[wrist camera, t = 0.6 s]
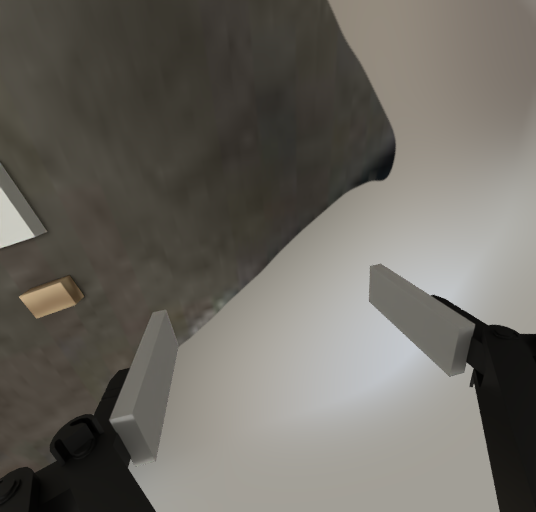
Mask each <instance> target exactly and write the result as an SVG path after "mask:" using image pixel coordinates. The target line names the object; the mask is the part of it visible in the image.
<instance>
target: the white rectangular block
mask: <svg viewBox="0 0 536 512" xmlns="http://www.w3.org/2000/svg"><path fill="white" fill-rule="evenodd" d="M46 232H47V230H46V229H45V227H44V226H43V225H42V223H41V222H40V220H39V219H38V217H37V216H36V214H35V213H34V211H33V210H32V208H31V207H30V205H29V204H28V202H27V201H26V200H25V198H24V197H23V195H22V194H21V192H20V191H19V189H18V188H17V186H16V185H15V183H14V182H13V180H12V179H11V177H10V176H9V175H8V173H7V172H6V170H5V169H4V167H3V166H2V164H1V163H0V248H3V247H6V246H9V245H12V244H15V243H18V242H21V241H24V240H27V239H30V238H33V237H36V236H39V235H41V234H43V233H46Z"/></svg>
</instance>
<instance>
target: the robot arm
mask: <svg viewBox="0 0 536 512" xmlns="http://www.w3.org/2000/svg"><path fill="white" fill-rule="evenodd" d="M369 302H370V303H371V304H372V305H374V306H375V307H376V308H377V309H378V310H379V311H380V312H381V313H382V314H383V315H384V316H385V317H386V318H387V319H389V320H390V321H391V322H392V323H393V324H394V325H395V326H396V327H397V328H398V329H399V330H400V331H401V332H403V334H405V335H406V336H407V337H408V338H409V339H410V340H411V341H412V342H413V343H414V344H415V345H416V346H417V347H418V348H419V349H421V350H422V351H423V352H424V353H425V354H426V355H427V356H428V357H429V358H430V359H431V360H432V361H433V362H435V363H436V364H437V365H438V366H439V367H440V368H441V369H442V370H443V371H444V372H445V373H446V374H447V375H448V376H449V377H450V376H454V375H457V374H461V373H464V371H465V367H466V362H467V363H468V364H469V365H471V366H472V367H473V368H474V369H473V373H472V377H471V382H470V387H473V384H475V389H476V394H477V399H478V404H479V409H480V414H481V419H482V424H483V429H484V434H485V439H486V444H487V450H488V455H489V460H490V465H491V470H492V475H493V479H494V485H495V490H496V495H497V500H498V505H499V510H500V512H536V334H519V333H518V332H516V331H515V330H513V329H510V328H508V327H505V326H500V325H487V324H485V323H483V322H482V321H480V320H479V319H477V318H475V317H474V316H472V315H470V314H469V313H467V312H466V311H464V310H461V308H459V307H457V306H456V305H454V304H452V303H451V302H449V301H448V300H446V299H444V298H441V297H439V296H435V295H431V296H430V295H429V294H427V293H425V292H424V291H422V290H421V289H419V288H418V287H416V286H415V285H413V284H412V283H410V282H408V281H407V280H405V279H404V278H402V277H401V276H399V275H397V274H396V273H394V272H393V271H391V270H390V269H388V268H387V267H385V266H383V265H382V264H378V265H373V266H370V288H369ZM177 351H178V343H177V340H176V337H175V334H174V331H173V328H172V325H171V323H170V320H169V317H168V314H167V311H166V310H162V311H158V312H153V313H152V316H151V318H150V321H149V323H148V325H147V328H146V330H145V333H144V335H143V338H142V340H141V343H140V345H139V348H138V350H137V353H136V355H135V358H134V360H133V362H132V365H131V367H130V368H127V369H123V370H119V371H118V372H117V373H116V374H115V376H114V377H113V378H112V379H111V380H110V382H109V384H108V386H107V388H106V390H105V393H104V395H103V397H102V399H101V401H100V403H99V405H98V407H97V409H96V411H95V414H94V416H93V415H92V414H85V415H82V416H79V417H76V418H75V419H73V420H71V421H69V422H68V423H67V424H66V425H64V426H63V427H62V428H61V429H60V430H59V431H58V432H57V434H56V435H55V436H54V437H53V439H52V442H51V444H50V452H51V453H52V455H53V456H54V457H55V459H56V460H57V461H56V462H54V463H52V464H50V465H48V466H47V467H45V468H43V469H41V470H39V471H37V472H36V473H34V471H33V470H32V469H30V468H28V467H23V468H18V469H16V470H14V471H12V472H10V473H8V474H7V475H5V476H4V477H3V478H1V479H0V512H156V511H155V509H154V508H153V507H152V505H151V503H150V502H149V500H148V499H147V497H146V496H145V494H144V492H143V491H142V489H141V488H140V486H139V485H138V483H137V482H136V480H135V479H134V477H133V476H132V474H131V472H130V471H129V469H128V465H129V462H130V459H131V460H132V462H133V463H134V465H135V467H137V466H141V465H144V464H147V463H151V462H154V461H156V457H157V452H158V447H159V442H160V437H161V432H162V427H163V422H164V417H165V412H166V407H167V402H168V396H169V391H170V386H171V381H172V376H173V371H174V366H175V360H176V356H177Z"/></svg>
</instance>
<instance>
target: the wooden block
mask: <svg viewBox="0 0 536 512" xmlns="http://www.w3.org/2000/svg"><path fill="white" fill-rule="evenodd" d="M83 297H84V295H83V294H82V292H81V291H80V289H79V288H78V287H77V285H76V284H75V282H74V281H73V279H72V278H71V277H70V275H69V276H66V277H63V278H60V279H57V280H54V281H51V282H49V283H46V284H43V285H40V286H37V287H34V288H31V289H30V290H28V291H27V292H25V293H24V294H22V295H21V296H19V298H20V299H21V300H22V301H23V302H24V304H25V305H26V306H27V307H28V308H29V310H30V311H31V312H32V313H33V315H34V316H35V317H36V318H40V317H42V316H45V315H48V314H51V313H54V312H56V311H59V310H62V309H65V308H68V307H70V306H73V305H76V304H77V303H78V302H79V301H80V300H81V299H82V298H83Z"/></svg>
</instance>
